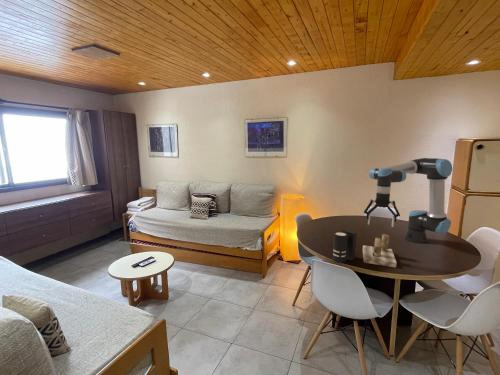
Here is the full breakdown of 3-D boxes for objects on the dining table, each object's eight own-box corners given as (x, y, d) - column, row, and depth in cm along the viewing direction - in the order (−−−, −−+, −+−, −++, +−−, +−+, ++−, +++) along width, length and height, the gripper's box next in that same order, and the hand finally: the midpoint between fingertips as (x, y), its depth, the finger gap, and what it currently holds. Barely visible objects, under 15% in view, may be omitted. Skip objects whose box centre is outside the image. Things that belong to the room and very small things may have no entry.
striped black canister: (328, 258, 165) (330, 232, 162) (342, 253, 172) (343, 228, 169) (341, 264, 157) (343, 237, 154) (355, 259, 164) (356, 233, 161)
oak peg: (380, 261, 161) (382, 240, 159) (373, 260, 163) (375, 239, 161) (380, 258, 165) (381, 238, 163) (372, 257, 167) (374, 237, 165)
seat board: (391, 253, 173) (393, 233, 171) (396, 267, 153) (398, 245, 151) (362, 249, 180) (364, 230, 178) (363, 262, 160) (365, 241, 158)
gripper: (405, 192, 156) (401, 225, 160) (361, 190, 165) (359, 221, 169) (407, 195, 149) (404, 229, 153) (361, 192, 159) (359, 224, 162)
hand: (380, 225), depth 161 cm, fingers open, 13 cm apart
